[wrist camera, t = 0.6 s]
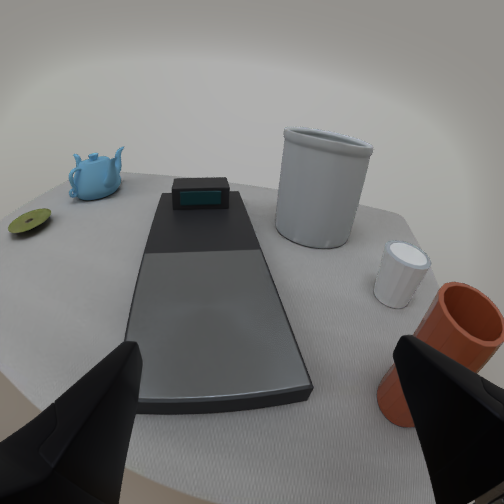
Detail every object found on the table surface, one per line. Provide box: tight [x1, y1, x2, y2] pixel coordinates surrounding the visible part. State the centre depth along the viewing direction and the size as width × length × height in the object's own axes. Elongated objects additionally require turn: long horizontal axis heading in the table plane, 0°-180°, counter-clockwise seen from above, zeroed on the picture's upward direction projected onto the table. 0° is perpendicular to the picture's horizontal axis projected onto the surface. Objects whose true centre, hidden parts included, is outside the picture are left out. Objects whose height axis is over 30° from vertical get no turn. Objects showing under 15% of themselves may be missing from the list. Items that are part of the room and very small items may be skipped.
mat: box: [8, 208, 51, 233], centre depth 42 cm, size 11×11×2 cm
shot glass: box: [373, 240, 431, 309], centre depth 32 cm, size 7×7×7 cm
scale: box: [124, 177, 314, 414], centre depth 36 cm, size 44×16×6 cm, turn 10°
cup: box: [377, 282, 504, 427], centre depth 17 cm, size 7×7×12 cm
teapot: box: [69, 147, 124, 200], centre depth 57 cm, size 15×15×10 cm
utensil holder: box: [276, 127, 373, 248], centre depth 44 cm, size 15×15×18 cm
